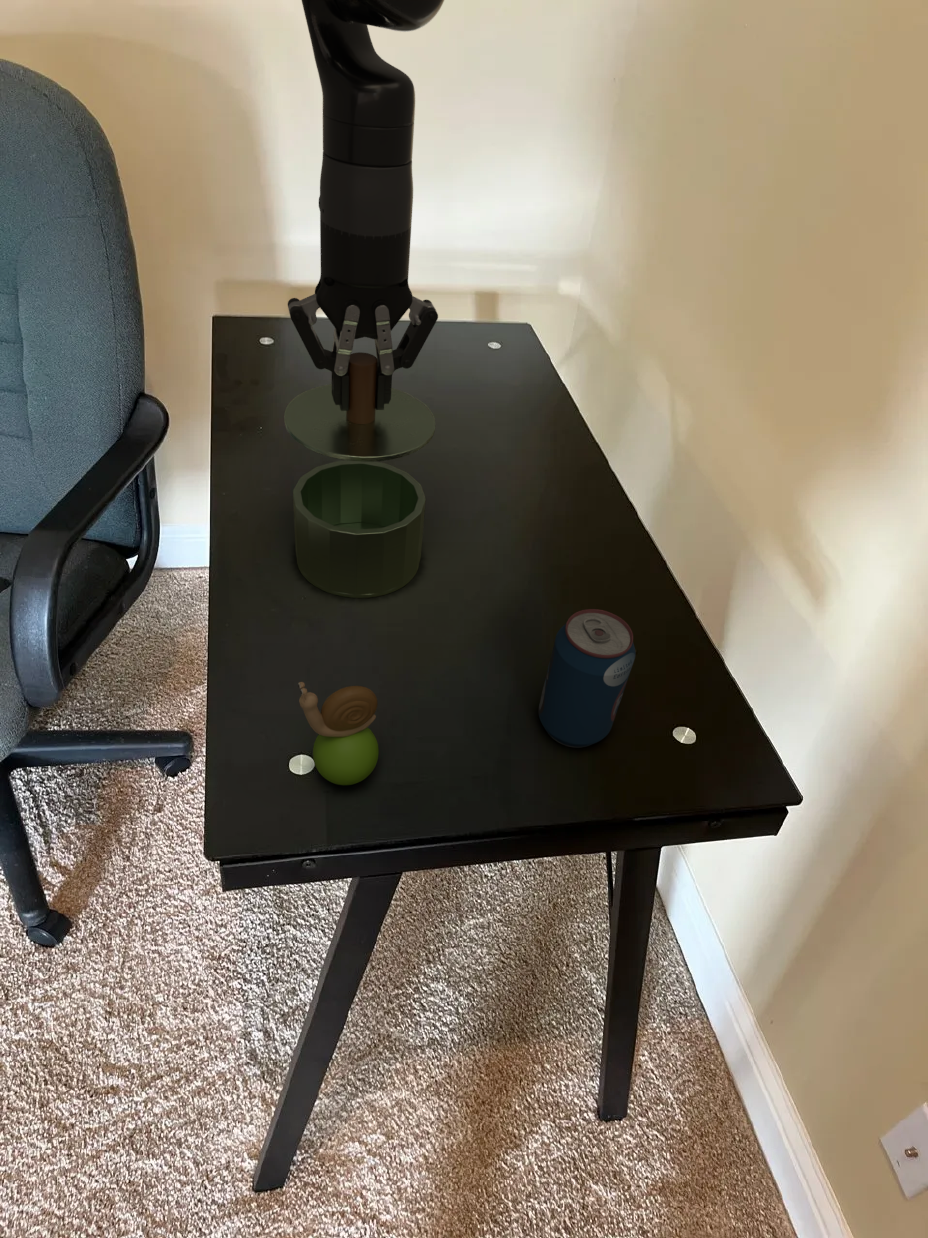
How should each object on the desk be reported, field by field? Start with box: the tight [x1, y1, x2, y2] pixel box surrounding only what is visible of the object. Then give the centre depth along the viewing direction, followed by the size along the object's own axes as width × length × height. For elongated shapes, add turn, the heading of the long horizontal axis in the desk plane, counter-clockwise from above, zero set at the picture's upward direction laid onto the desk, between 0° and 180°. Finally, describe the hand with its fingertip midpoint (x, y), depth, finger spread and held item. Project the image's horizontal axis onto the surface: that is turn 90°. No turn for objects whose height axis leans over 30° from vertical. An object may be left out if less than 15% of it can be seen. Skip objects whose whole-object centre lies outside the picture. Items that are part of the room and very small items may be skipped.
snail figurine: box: [297, 681, 380, 786], centre depth 66 cm, size 5×6×12 cm
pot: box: [292, 460, 427, 599], centre depth 89 cm, size 14×14×8 cm
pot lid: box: [283, 351, 436, 462], centre depth 79 cm, size 15×15×7 cm
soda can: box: [537, 608, 636, 749], centre depth 73 cm, size 7×7×12 cm
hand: (361, 405), depth 80 cm, fingers closed on pot lid, 3 cm apart
